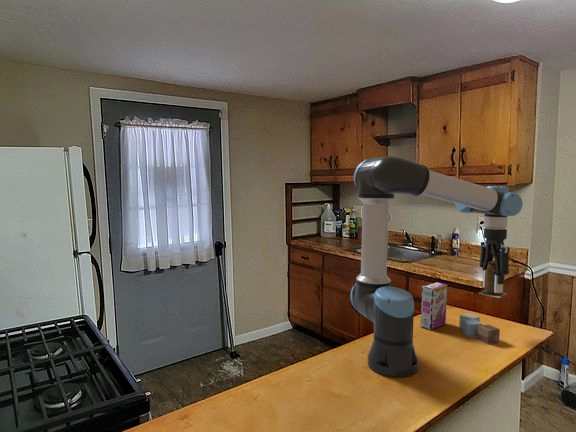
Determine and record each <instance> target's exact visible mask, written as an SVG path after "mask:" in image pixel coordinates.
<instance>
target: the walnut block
mask: <svg viewBox="0 0 576 432" xmlns="http://www.w3.org/2000/svg"><path fill="white" fill-rule="evenodd" d="M500 333H501V330H500V328H498V327H496V326H493V325H492V324H489V323H488V324H482V325H479V326H478V327H477V337H476V339H477V340H478V341H481V342H482V343H484V344H486V345H492V344H498V343H499V344H500Z"/></svg>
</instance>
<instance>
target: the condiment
mask: <svg viewBox="0 0 576 432" xmlns="http://www.w3.org/2000/svg"><path fill="white" fill-rule="evenodd" d="M495 274H497V272H496V265H495V260H493V261H488V266H487V269H486V285H485V288H484V289H485V290H482V291H480V292H478V294H479V295H483V296H485V297H486V296H487V297H491V298H492V297H493V298H498V299H500V298H502V297H504V296H506V295H508V293H507V292H504V291H505V290H504V289H505V280H504V281H503V293H495V292H494V286H495Z"/></svg>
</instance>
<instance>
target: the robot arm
mask: <svg viewBox="0 0 576 432" xmlns="http://www.w3.org/2000/svg"><path fill="white" fill-rule="evenodd" d="M353 182H354V186H355V188H356V189H358V198H357V199H358V200H360V202H361V203H362V218H361V219H362V222H361V223H362V224H361V225H362V226H361V253H360V256H361V257H360V273H359V274H358V275H357V276H356V277H355V284H354V285H353V286H352V288H351V291H350V295H349V296H350V297H349V298H350V302H351V305H352V306H353V308H354V309H355V310H356V311H357V313H359V314H360V315H361V316H363V317H365V318H366V319H367V320H369V321H370V322H371V323H373V340H372V343H371V346H370V348H369V351H368V354H367V365H368V367H369V368H370V369H371V370H372V371H373V372H375V373H378V374H379V375H383V376H386V377H391V378H406V377H410V376H413V375H416V373H418V371H419V359H418V357H417V356H418V355H417V353H416V349H415V345H414V317H415V315H414V314H415V302H414V298H413V296H412V294H411V293H410V292H409V291H407V290H405V289H403V288H398V287H396V286H392V280H391V278H390V277H389V276H388V275H387V270H388V245H389V242H388V241H389V239H388V238H389V218H390V217H389V215H390V211H389V210H390V204H391V202H393V201H394V200H395V195H398V194H399V195H409V196H414V197H419V196H421V195H423V196H426V197H430V198H434V199H438V200H442V201H445V202H448V203H452V204H454V205H455V208H456V210H457V211H458V212H459V213H466V214H470V213H475V214H484V215H483V217H484V219H483V227H484V229H483V238H484V239H486V240H485V241H481V242H480V247H481V248H480V258H479V267H480V268H482V271H483V273H482V278H483V281H482V283H483V284H482V288H483V289H485V285H486V269H487V266H488V261H495V265H496V272H497V274H495V286H494V292H495V293H504V292H503V281H504V282H505V276H506V275H509V273H510V272H509V270H510V268H509V267H510V266H509V263H510V261H509V260H510V259H509V256H510V255H509V254H510V247H509V246H505V243H504V241H505V240H506V239H507V238H508V237H507V236H508V235H507V234H508V230H507V227H508V217H515V216H517V215H518V214H520V213H521V211H522V209H523V205H524V204H523V203H524V202H523V198H522V197H521V196H520V194H518V193H516V192H510V191H509V190H510V189H509V187H508V186H505V185H502V186H501V185H487V186H483V185H480V184H476V183H472V182H470V181H466V180H463V179H460V178H457V177H456V178H455V177H452V176H451V175H450V176H449V175H446V174H443V173H440V172H435V171H433V170H430V168H429V167H428V166H427V165H424V164H420V163H418V162H414V161H411V160H409V159H406V158H402V157H399V156H394V155H393V156H392V155H388V156H380V157H371V158H368V159H365V160H363V161H362V162H360V163H359V164H358V165H357V167H356V169H355V171H354V173H353Z"/></svg>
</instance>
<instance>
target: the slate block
mask: <svg viewBox="0 0 576 432" xmlns="http://www.w3.org/2000/svg"><path fill="white" fill-rule="evenodd" d="M479 325H483V323H482V322H479V321H477V320H476V319H463V321H462V328H461V332H462V333H463V335H465V336H466V337H468V338H477V327H478V326H479Z"/></svg>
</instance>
